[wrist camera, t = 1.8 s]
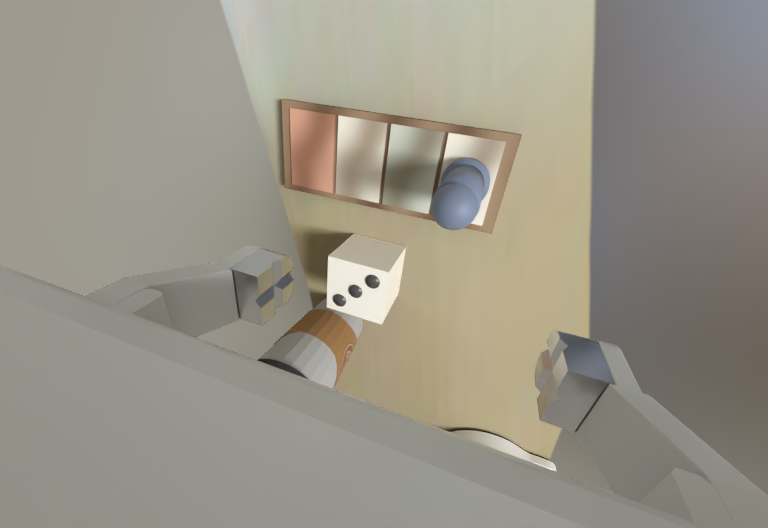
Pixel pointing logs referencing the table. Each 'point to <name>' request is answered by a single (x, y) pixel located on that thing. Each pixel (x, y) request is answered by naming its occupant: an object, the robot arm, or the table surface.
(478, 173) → the pawn
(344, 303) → the die
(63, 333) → the robot arm
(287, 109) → the board
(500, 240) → the table surface
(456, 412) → the table surface
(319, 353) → the coffee cup
